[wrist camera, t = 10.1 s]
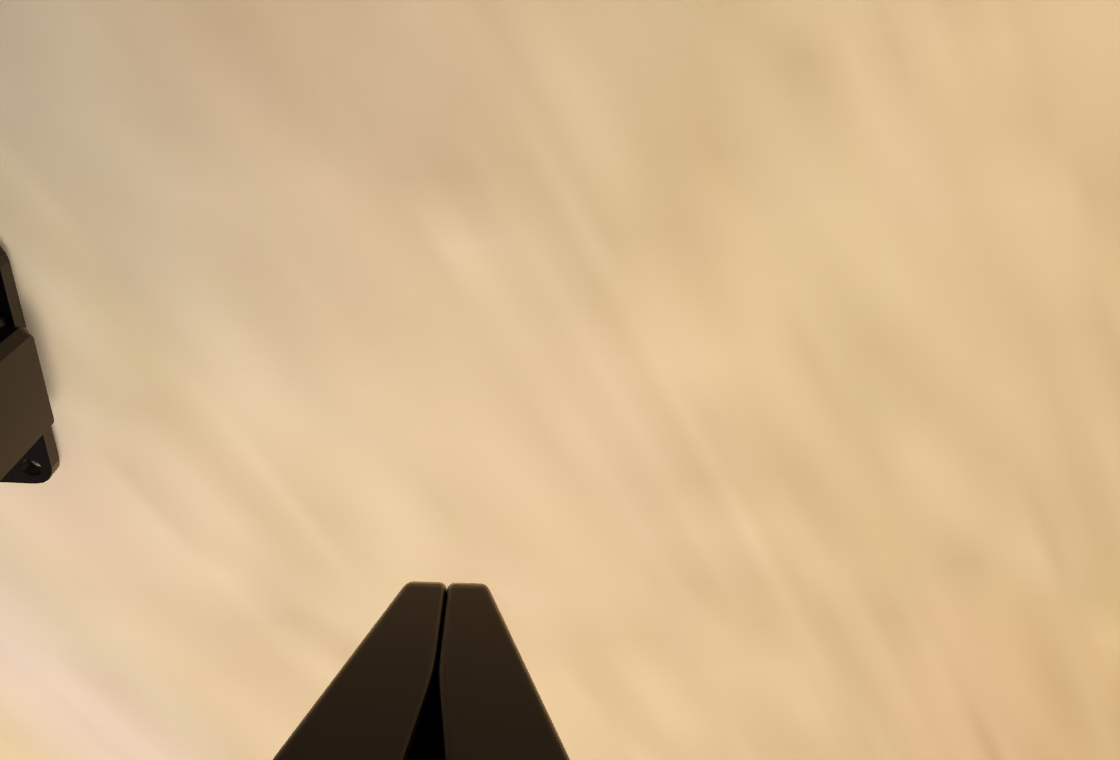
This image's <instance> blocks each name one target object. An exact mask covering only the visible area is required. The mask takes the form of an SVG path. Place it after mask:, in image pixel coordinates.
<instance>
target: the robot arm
mask: <svg viewBox="0 0 1120 760" xmlns="http://www.w3.org/2000/svg"><path fill="white" fill-rule="evenodd" d="M53 422H54V418H53V414H52V410H51V406H50V402H49V398H48V394H47V390H46V386H45V382H44V378H43V374H42V370H41V366H40V362H39V358H38V354H37V350H36V346H35V342H34V338H33V336H32V335H31V334H30V332H29V331H28V330H27V329H26V325H25V321H24V317H23V313H22V309H21V305H20V301H19V297H18V293H17V289H16V286H15V282H14V278H13V274H12V270H11V266H10V262H9V259H8V257H7V255H6V253H5V252H4V251H3V249H2V248H1V247H0V482H13V483H43V482H45V481H47V480H49V479H50V477H51V476H52V475H53V474H54V473H55V471H56V470H57V469H58V467H59V456H58V452H57V448H56V444H55V440H54V436H53V432H52V428H51V425H52V424H53ZM30 459H31V460H35V461H36V462H38V463H39V464H40V465H41V467H40V466H36V465H34V464H33V463H32V462H31V461H30ZM273 760H570V759H569V757H568V755H567V752H566V750H565V748H564V746H563V744H562V742H561V740H560V738H559V736H558V733H557V731H556V729H555V727H554V725H553V723H552V721H551V719H550V717H549V714H548V712H547V710H546V708H545V706H544V704H543V702H542V700H541V698H540V695H539V693H538V691H537V689H536V687H535V685H534V683H533V681H532V679H531V676H530V674H529V672H528V670H527V668H526V666H525V664H524V662H523V660H522V657H521V655H520V653H519V651H518V649H517V647H516V645H515V643H514V641H513V638H512V636H511V634H510V632H509V630H508V628H507V626H506V624H505V622H504V619H503V617H502V615H501V613H500V611H499V609H498V607H497V605H496V603H495V600H494V598H493V596H492V594H491V592H490V590H489V589H488V587H487V586H486V585H484V584H475V583H452V584H450V585H449V586H448V588H446V586H445V585H444V584H443V583H440V582H409V583H407V584H406V585H405V586H404V587H403V588H402V590H401V591H400V592H399V594H398V595H397V596H396V597H395V599H394V600H393V601H392V603H391V604H390V605H389V607H388V608H387V609H386V611H385V612H384V613H383V615H382V616H381V617H380V619H379V620H378V621H377V623H376V624H375V625H374V626H373V628H372V629H371V630H370V632H369V633H368V634H367V636H366V637H365V638H364V640H363V641H362V642H361V644H360V645H359V646H358V648H357V649H356V650H355V652H354V653H353V654H352V655H351V657H350V658H349V659H348V661H347V662H346V663H345V665H344V666H343V667H342V669H341V670H340V671H339V673H338V674H337V675H336V677H335V678H334V679H333V681H332V682H331V683H330V684H329V686H328V687H327V688H326V690H325V691H324V692H323V694H322V695H321V696H320V698H319V699H318V700H317V702H316V703H315V704H314V706H313V707H312V708H311V710H310V711H309V712H308V713H307V715H306V716H305V717H304V719H303V720H302V721H301V723H300V724H299V725H298V727H297V728H296V729H295V731H294V732H293V733H292V735H291V736H290V737H289V739H288V740H287V741H286V742H285V744H284V745H283V746H282V748H281V749H280V750H279V752H278V753H277V754H276V756H275V757H274V758H273Z"/></svg>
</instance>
